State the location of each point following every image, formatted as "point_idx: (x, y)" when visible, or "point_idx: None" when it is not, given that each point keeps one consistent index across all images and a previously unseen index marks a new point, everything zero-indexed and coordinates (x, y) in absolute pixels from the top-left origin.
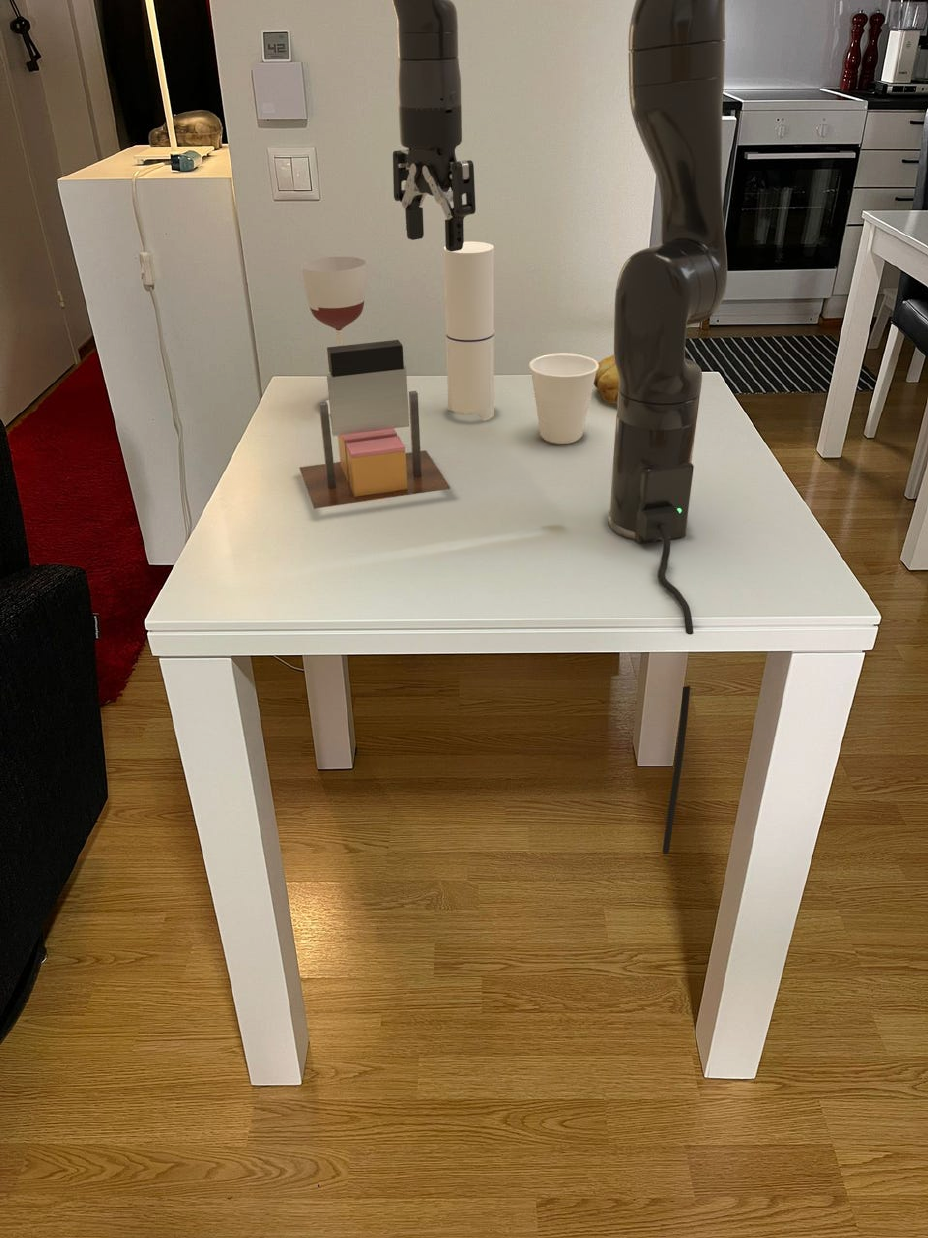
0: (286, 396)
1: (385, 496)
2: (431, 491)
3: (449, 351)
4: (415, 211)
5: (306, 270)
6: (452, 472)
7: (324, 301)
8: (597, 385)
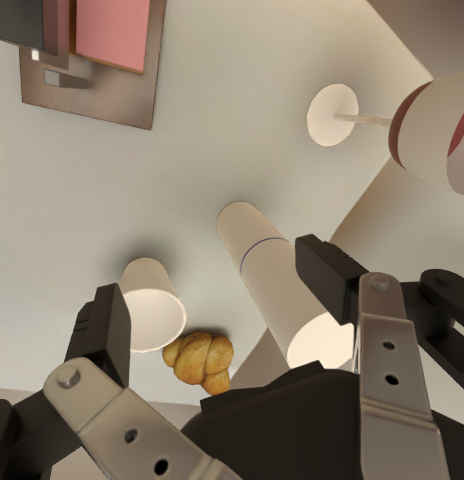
0: (397, 64)
1: None
2: (20, 73)
3: (264, 230)
4: (337, 297)
5: None
6: (104, 139)
7: (430, 90)
8: (210, 336)
